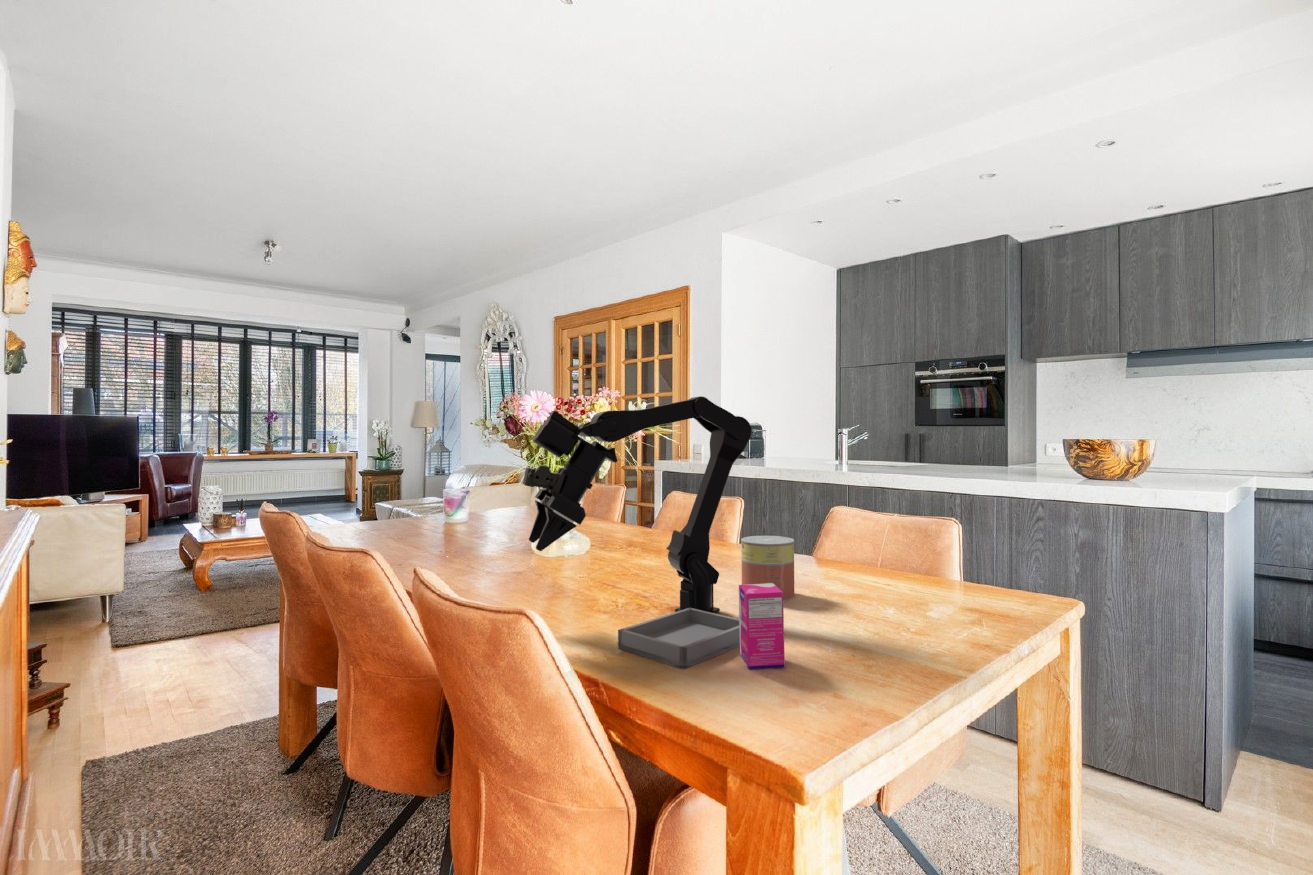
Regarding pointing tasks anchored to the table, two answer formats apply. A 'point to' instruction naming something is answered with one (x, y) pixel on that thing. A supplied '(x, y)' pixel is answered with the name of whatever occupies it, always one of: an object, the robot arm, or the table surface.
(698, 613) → the tray
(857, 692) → the table surface
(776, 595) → the supplement box
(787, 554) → the canned food
